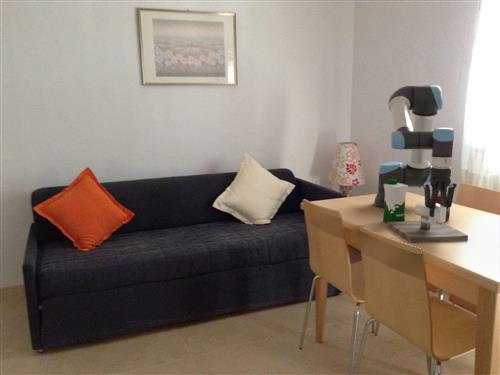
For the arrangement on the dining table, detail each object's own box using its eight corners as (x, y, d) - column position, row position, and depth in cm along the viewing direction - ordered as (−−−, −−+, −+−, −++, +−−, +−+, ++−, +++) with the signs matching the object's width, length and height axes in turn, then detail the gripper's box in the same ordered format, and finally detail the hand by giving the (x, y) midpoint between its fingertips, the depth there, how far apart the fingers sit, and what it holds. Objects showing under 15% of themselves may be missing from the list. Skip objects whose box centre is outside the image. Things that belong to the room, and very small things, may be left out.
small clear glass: (418, 227, 191) (419, 213, 189) (427, 226, 191) (428, 213, 190) (423, 229, 187) (424, 216, 185) (432, 229, 187) (433, 215, 186)
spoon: (411, 211, 191) (412, 198, 190) (431, 211, 192) (431, 197, 191) (431, 222, 174) (432, 207, 173) (453, 221, 175) (454, 207, 174)
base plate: (386, 226, 200) (387, 221, 199) (437, 224, 202) (437, 219, 202) (411, 242, 176) (411, 237, 176) (467, 240, 179) (468, 235, 178)
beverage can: (450, 221, 206) (452, 196, 203) (435, 221, 207) (437, 196, 205) (447, 218, 212) (449, 193, 210) (432, 217, 213) (434, 193, 211)
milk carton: (393, 218, 212) (395, 177, 208) (408, 223, 204) (410, 180, 200) (379, 221, 208) (381, 179, 204) (394, 225, 200) (396, 182, 196)
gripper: (426, 169, 170) (423, 227, 175) (465, 168, 172) (460, 226, 176) (417, 166, 177) (414, 222, 182) (454, 165, 179) (450, 221, 184)
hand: (436, 224), depth 179 cm, fingers closed on spoon, 2 cm apart
